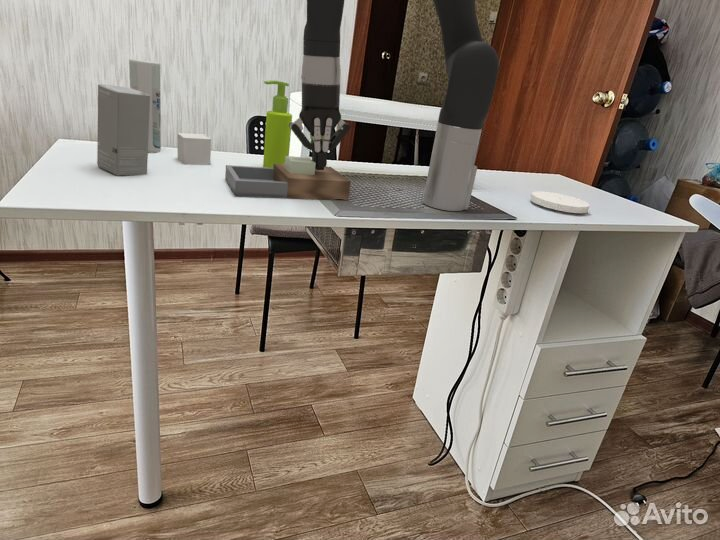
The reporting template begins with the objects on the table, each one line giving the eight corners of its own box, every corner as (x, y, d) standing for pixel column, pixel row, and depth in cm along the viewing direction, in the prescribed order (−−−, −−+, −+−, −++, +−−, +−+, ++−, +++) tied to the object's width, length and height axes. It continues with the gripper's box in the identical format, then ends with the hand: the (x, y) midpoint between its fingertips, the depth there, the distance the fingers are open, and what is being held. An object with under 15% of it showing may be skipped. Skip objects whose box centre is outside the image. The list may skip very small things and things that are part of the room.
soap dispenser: (256, 165, 122) (261, 78, 114) (283, 166, 125) (290, 82, 117) (262, 171, 117) (268, 80, 109) (290, 172, 120) (298, 84, 112)
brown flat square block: (328, 184, 114) (330, 166, 113) (348, 200, 103) (350, 181, 102) (272, 181, 109) (273, 163, 108) (286, 198, 98) (288, 178, 97)
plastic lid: (517, 199, 129) (520, 190, 128) (559, 201, 135) (562, 192, 134) (554, 216, 118) (557, 206, 117) (599, 217, 123) (602, 208, 122)
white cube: (210, 165, 116) (211, 139, 113) (183, 165, 113) (183, 137, 110) (203, 159, 120) (203, 134, 118) (177, 158, 117) (177, 132, 115)
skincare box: (96, 167, 100) (91, 83, 94) (131, 165, 105) (128, 85, 99) (117, 177, 95) (113, 89, 89) (152, 174, 101) (151, 91, 95)
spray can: (132, 146, 122) (129, 58, 115) (161, 148, 125) (160, 62, 117) (131, 151, 117) (128, 59, 109) (161, 153, 119) (160, 63, 112)
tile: (307, 169, 107) (308, 157, 106) (314, 174, 103) (315, 162, 102) (284, 167, 105) (285, 155, 104) (290, 173, 101) (291, 161, 100)
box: (272, 181, 109) (273, 167, 108) (286, 198, 98) (288, 183, 97) (225, 179, 105) (225, 165, 104) (234, 196, 94) (235, 180, 93)
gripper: (292, 82, 93) (293, 174, 100) (359, 84, 97) (354, 172, 104) (283, 78, 99) (284, 166, 106) (346, 80, 104) (342, 164, 111)
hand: (319, 169), depth 105 cm, fingers closed
